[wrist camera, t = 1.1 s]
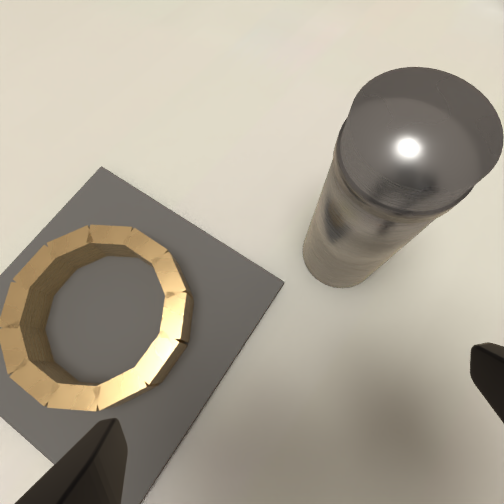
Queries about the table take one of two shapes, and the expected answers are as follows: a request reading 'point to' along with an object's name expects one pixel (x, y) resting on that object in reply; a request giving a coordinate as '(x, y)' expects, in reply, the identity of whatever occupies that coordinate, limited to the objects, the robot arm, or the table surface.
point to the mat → (136, 328)
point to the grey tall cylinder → (398, 169)
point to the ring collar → (39, 304)
